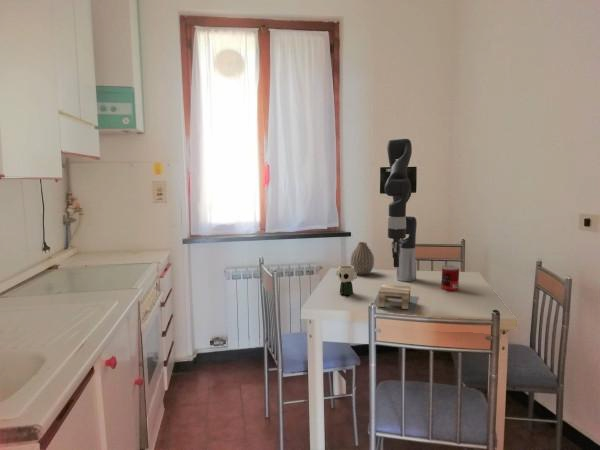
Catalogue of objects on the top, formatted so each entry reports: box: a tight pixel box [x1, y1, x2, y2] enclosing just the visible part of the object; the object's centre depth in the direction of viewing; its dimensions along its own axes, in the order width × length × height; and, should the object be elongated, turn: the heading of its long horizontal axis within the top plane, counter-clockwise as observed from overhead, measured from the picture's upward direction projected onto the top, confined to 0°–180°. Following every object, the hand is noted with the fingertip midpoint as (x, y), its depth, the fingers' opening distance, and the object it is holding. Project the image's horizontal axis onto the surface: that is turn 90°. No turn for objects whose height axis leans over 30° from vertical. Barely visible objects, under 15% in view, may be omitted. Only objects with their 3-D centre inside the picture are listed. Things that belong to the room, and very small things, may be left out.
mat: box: [373, 293, 419, 313], centre depth 192 cm, size 23×18×1 cm
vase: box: [349, 241, 375, 276], centre depth 246 cm, size 13×13×18 cm
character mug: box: [335, 264, 358, 296], centre depth 206 cm, size 11×7×13 cm, turn 52°
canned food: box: [441, 264, 460, 292], centre depth 213 cm, size 8×8×11 cm
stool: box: [378, 283, 411, 310], centre depth 188 cm, size 7×12×12 cm
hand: (396, 266), depth 190 cm, fingers closed
